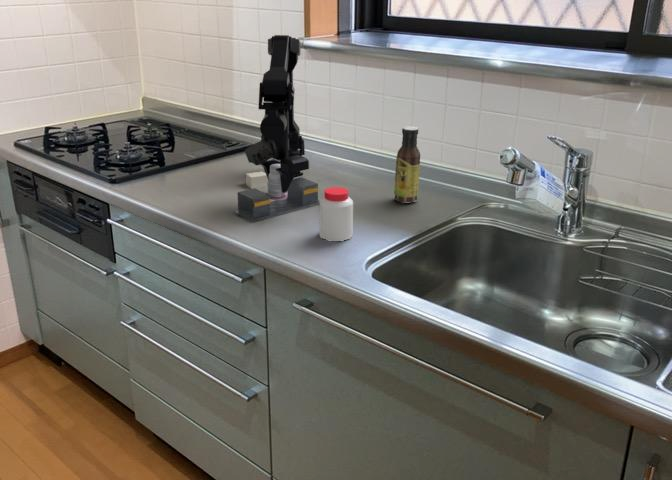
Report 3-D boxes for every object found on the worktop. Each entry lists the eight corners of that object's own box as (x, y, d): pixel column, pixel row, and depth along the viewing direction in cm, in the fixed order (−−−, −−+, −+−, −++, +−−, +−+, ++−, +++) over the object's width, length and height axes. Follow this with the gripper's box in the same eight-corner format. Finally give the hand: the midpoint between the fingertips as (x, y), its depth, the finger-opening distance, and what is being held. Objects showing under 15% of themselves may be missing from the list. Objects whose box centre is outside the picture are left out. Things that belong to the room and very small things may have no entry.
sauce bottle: (390, 198, 182) (393, 125, 174) (411, 195, 184) (415, 123, 176) (400, 206, 176) (403, 131, 168) (421, 203, 178) (426, 129, 170)
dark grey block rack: (303, 195, 183) (303, 175, 181) (322, 203, 177) (322, 183, 175) (233, 213, 170) (232, 192, 168) (251, 222, 164) (250, 200, 162)
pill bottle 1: (284, 201, 170) (284, 169, 166) (266, 200, 171) (265, 168, 167) (289, 195, 174) (289, 163, 171) (272, 193, 175) (271, 162, 172)
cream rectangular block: (262, 182, 193) (262, 171, 192) (268, 186, 190) (268, 175, 189) (246, 185, 191) (246, 173, 190) (251, 189, 188) (251, 177, 186)
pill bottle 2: (318, 229, 160) (318, 185, 156) (350, 229, 161) (351, 185, 157) (320, 242, 153) (320, 196, 149) (354, 241, 154) (355, 196, 150)
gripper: (228, 127, 167) (231, 186, 173) (271, 142, 154) (273, 206, 160) (265, 120, 174) (267, 178, 180) (310, 135, 161) (310, 197, 167)
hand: (278, 189), depth 172 cm, fingers closed on pill bottle 1, 5 cm apart
